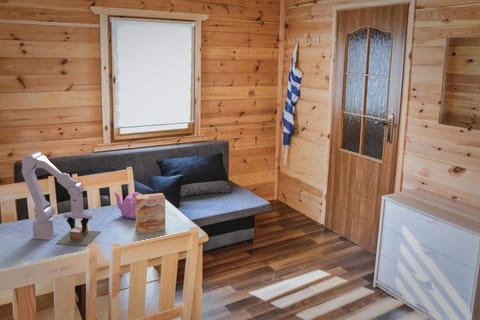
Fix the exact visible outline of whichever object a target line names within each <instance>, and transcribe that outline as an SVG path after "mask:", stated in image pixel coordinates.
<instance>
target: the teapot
mask: <svg viewBox="0 0 480 320" xmlns="http://www.w3.org/2000/svg"><path fill="white" fill-rule="evenodd" d="M112 194H114V195H115V198H116V205H117V206H116V207H117V208H118V209H119V210H120V214H121V215H122V216H123V217H124V218H127V219H131V220H132V219H133V220H136V213H135V195H143V194H142V193H141V192H137V191H135V192H132V193H131V194H128V195H126V197H125V198H124V200H123V202H122V201H121V197H120V194H119V193H118V192H114V191H113V192H112Z"/></svg>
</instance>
